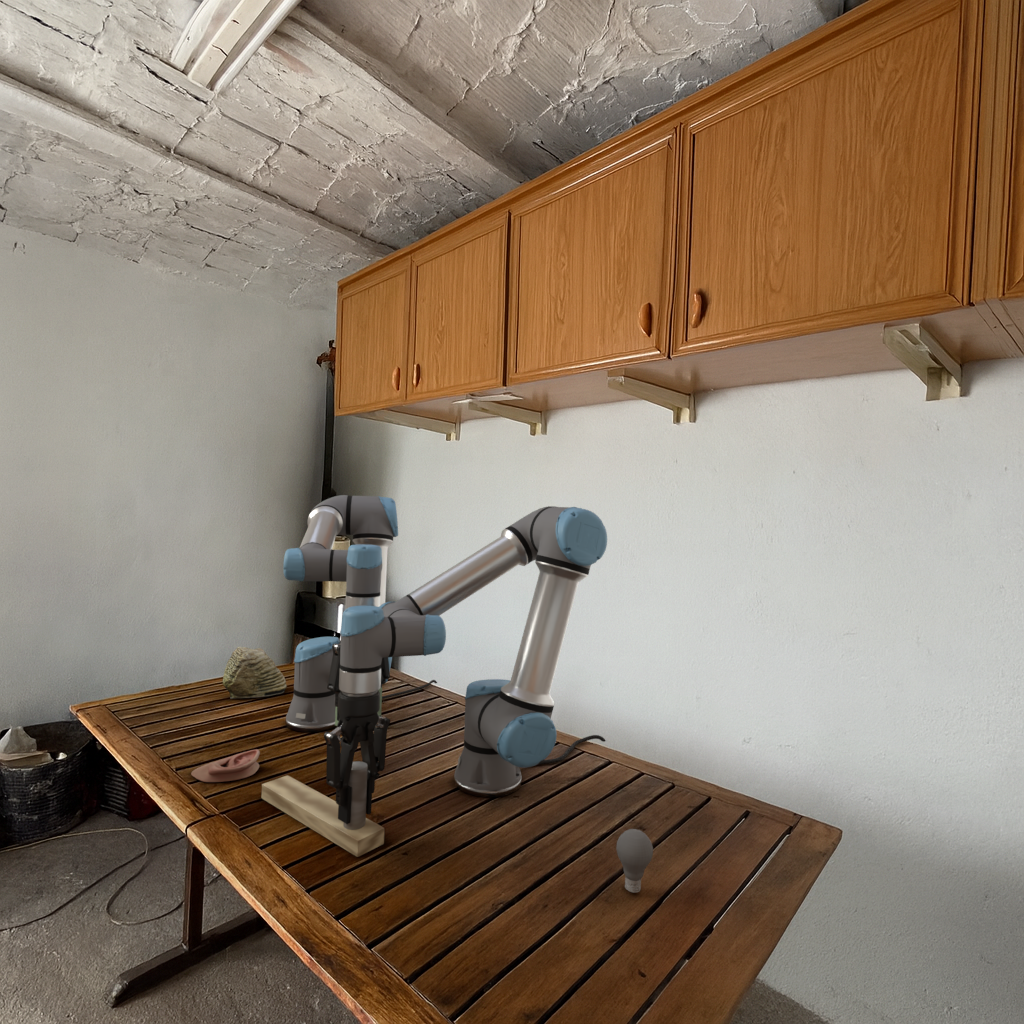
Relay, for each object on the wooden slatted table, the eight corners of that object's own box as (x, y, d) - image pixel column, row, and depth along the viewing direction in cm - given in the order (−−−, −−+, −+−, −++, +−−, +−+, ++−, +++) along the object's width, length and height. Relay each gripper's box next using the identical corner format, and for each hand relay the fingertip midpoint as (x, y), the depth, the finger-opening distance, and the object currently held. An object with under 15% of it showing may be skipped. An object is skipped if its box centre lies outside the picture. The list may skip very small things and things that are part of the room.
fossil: (218, 695, 195) (220, 647, 195) (278, 685, 208) (279, 640, 207) (228, 703, 189) (230, 653, 188) (289, 692, 201) (290, 645, 201)
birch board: (287, 788, 137) (289, 724, 136) (383, 843, 117) (386, 768, 116) (261, 798, 132) (263, 731, 132) (357, 857, 112) (360, 779, 112)
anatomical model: (182, 760, 139) (216, 741, 150) (181, 778, 139) (216, 758, 150) (236, 768, 136) (267, 748, 147) (235, 786, 136) (266, 765, 147)
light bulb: (610, 879, 108) (613, 822, 108) (644, 879, 109) (647, 822, 109) (619, 902, 102) (622, 840, 102) (655, 901, 103) (658, 840, 103)
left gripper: (387, 607, 151) (383, 702, 151) (311, 617, 135) (307, 723, 135) (409, 611, 146) (405, 709, 146) (332, 622, 130) (328, 732, 130)
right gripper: (382, 677, 126) (378, 794, 126) (307, 696, 113) (302, 826, 113) (408, 685, 121) (403, 806, 122) (332, 706, 108) (327, 841, 108)
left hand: (358, 716), depth 141 cm, fingers closed on green block, 8 cm apart
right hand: (354, 815), depth 117 cm, fingers closed on birch board, 4 cm apart
